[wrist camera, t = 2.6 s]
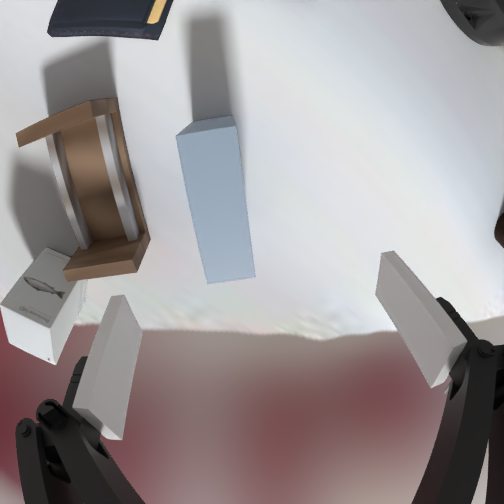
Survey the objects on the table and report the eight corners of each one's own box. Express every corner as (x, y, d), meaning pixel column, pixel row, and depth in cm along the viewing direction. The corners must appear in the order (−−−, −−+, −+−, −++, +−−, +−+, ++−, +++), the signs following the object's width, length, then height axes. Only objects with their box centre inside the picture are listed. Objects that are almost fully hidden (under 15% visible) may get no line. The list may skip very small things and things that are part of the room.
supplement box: (90, 262, 34) (52, 329, 23) (86, 301, 37) (56, 367, 26) (45, 244, 32) (-2, 303, 21) (45, 284, 35) (8, 344, 24)
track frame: (50, 122, 24) (15, 133, 18) (116, 97, 24) (89, 100, 19) (88, 250, 33) (67, 281, 27) (150, 239, 33) (137, 272, 27)
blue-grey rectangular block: (192, 121, 27) (175, 136, 17) (232, 115, 27) (236, 126, 18) (211, 225, 33) (207, 284, 24) (245, 220, 33) (255, 277, 24)
